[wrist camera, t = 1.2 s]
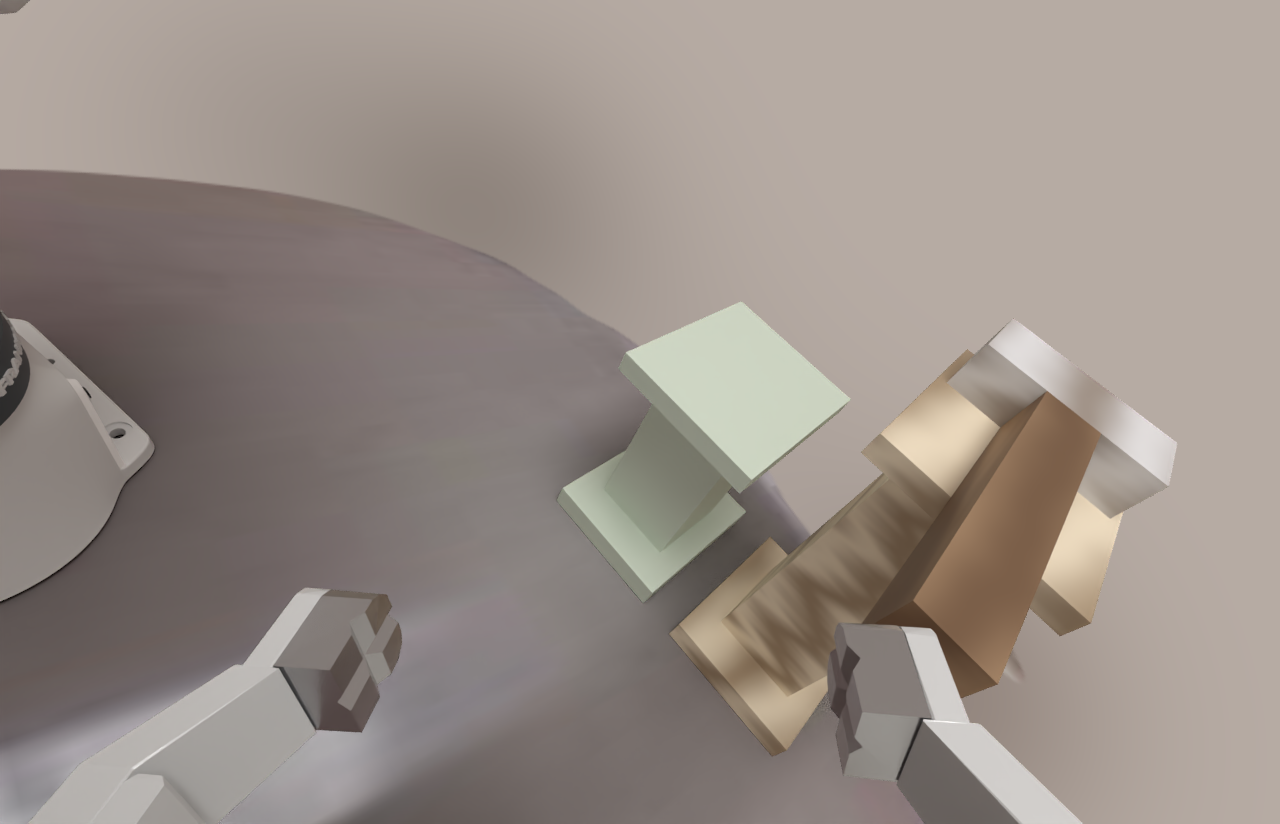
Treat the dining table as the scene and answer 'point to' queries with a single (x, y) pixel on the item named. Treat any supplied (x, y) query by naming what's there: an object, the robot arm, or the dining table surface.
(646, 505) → the pedestal low
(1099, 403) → the mallet
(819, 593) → the pedestal tall
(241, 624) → the dining table surface
